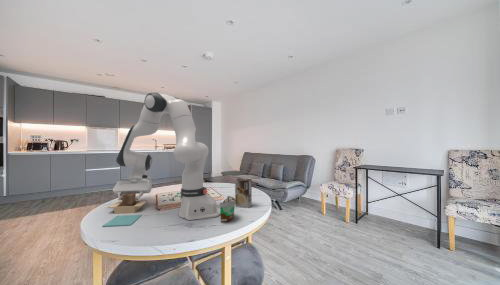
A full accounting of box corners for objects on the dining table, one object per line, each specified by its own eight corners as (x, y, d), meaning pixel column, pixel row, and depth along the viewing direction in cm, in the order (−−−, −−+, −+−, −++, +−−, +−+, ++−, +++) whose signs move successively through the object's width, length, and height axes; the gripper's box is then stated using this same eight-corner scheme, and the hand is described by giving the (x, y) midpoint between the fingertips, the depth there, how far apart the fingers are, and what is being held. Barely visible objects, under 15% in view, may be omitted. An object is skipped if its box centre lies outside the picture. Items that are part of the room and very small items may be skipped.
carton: (147, 206, 115) (147, 200, 115) (140, 212, 105) (140, 206, 105) (118, 207, 113) (118, 201, 113) (108, 213, 102) (108, 207, 102)
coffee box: (252, 204, 119) (252, 179, 119) (249, 207, 113) (249, 181, 113) (238, 203, 122) (238, 178, 122) (234, 206, 115) (234, 180, 115)
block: (135, 208, 111) (135, 192, 111) (131, 211, 106) (131, 195, 106) (126, 208, 111) (126, 193, 111) (121, 211, 106) (121, 195, 106)
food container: (231, 224, 90) (232, 203, 90) (219, 223, 91) (219, 202, 91) (238, 215, 102) (238, 196, 102) (227, 214, 103) (227, 195, 103)
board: (141, 215, 100) (141, 214, 100) (130, 225, 88) (130, 224, 88) (117, 216, 99) (117, 215, 99) (102, 226, 87) (102, 225, 87)
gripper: (116, 176, 114) (106, 197, 104) (152, 176, 117) (145, 196, 107) (120, 182, 119) (111, 203, 109) (154, 181, 121) (148, 201, 112)
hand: (128, 199), depth 108 cm, fingers open, 8 cm apart
